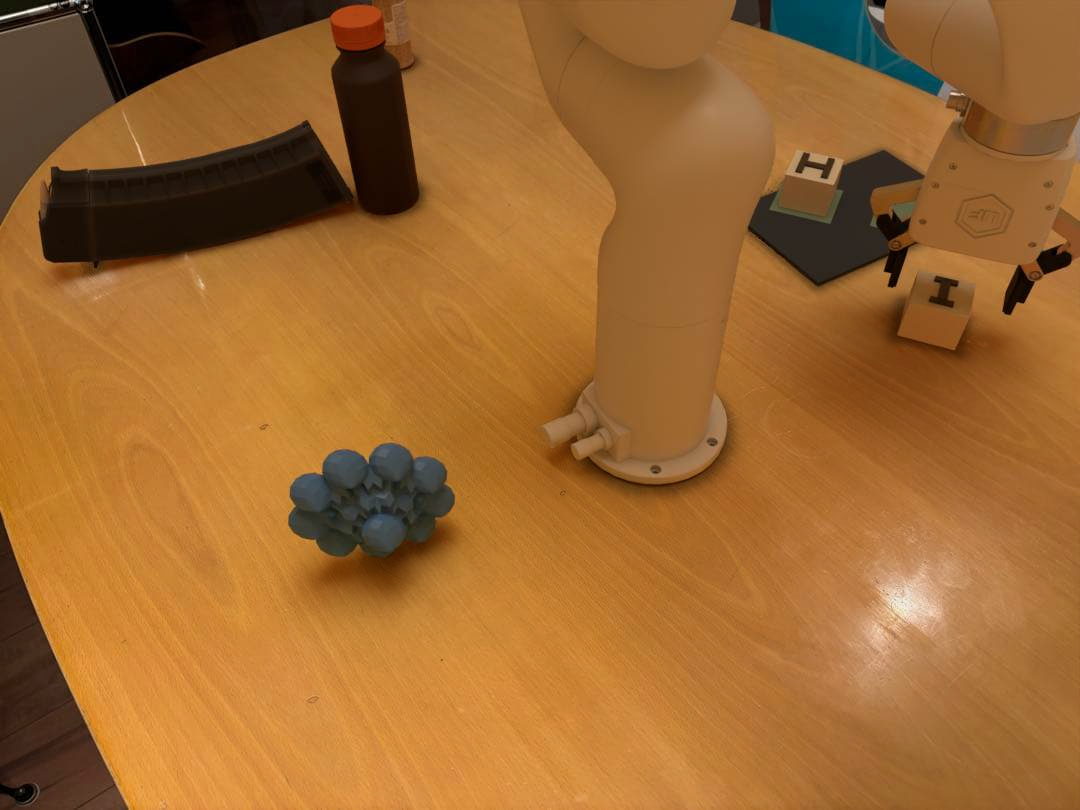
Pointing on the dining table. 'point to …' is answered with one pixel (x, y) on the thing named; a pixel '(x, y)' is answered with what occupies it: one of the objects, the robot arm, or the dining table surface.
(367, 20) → the vinegar
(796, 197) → the tile
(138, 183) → the magazine
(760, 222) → the mat
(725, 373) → the dining table surface
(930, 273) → the tile
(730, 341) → the dining table surface
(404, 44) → the sprinkles bottle
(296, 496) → the grapes
